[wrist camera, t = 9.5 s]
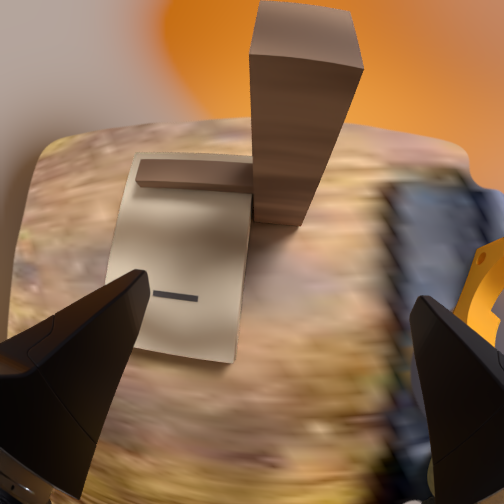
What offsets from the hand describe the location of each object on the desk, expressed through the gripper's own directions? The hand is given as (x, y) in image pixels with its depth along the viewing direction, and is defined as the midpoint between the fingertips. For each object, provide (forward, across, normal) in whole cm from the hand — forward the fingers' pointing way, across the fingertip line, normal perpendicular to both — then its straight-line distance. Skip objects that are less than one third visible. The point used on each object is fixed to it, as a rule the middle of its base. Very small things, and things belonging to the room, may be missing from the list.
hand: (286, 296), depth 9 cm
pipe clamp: (+10, -19, +9) cm, 23 cm away
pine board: (+12, +7, +6) cm, 15 cm away
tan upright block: (+15, +4, +3) cm, 16 cm away
